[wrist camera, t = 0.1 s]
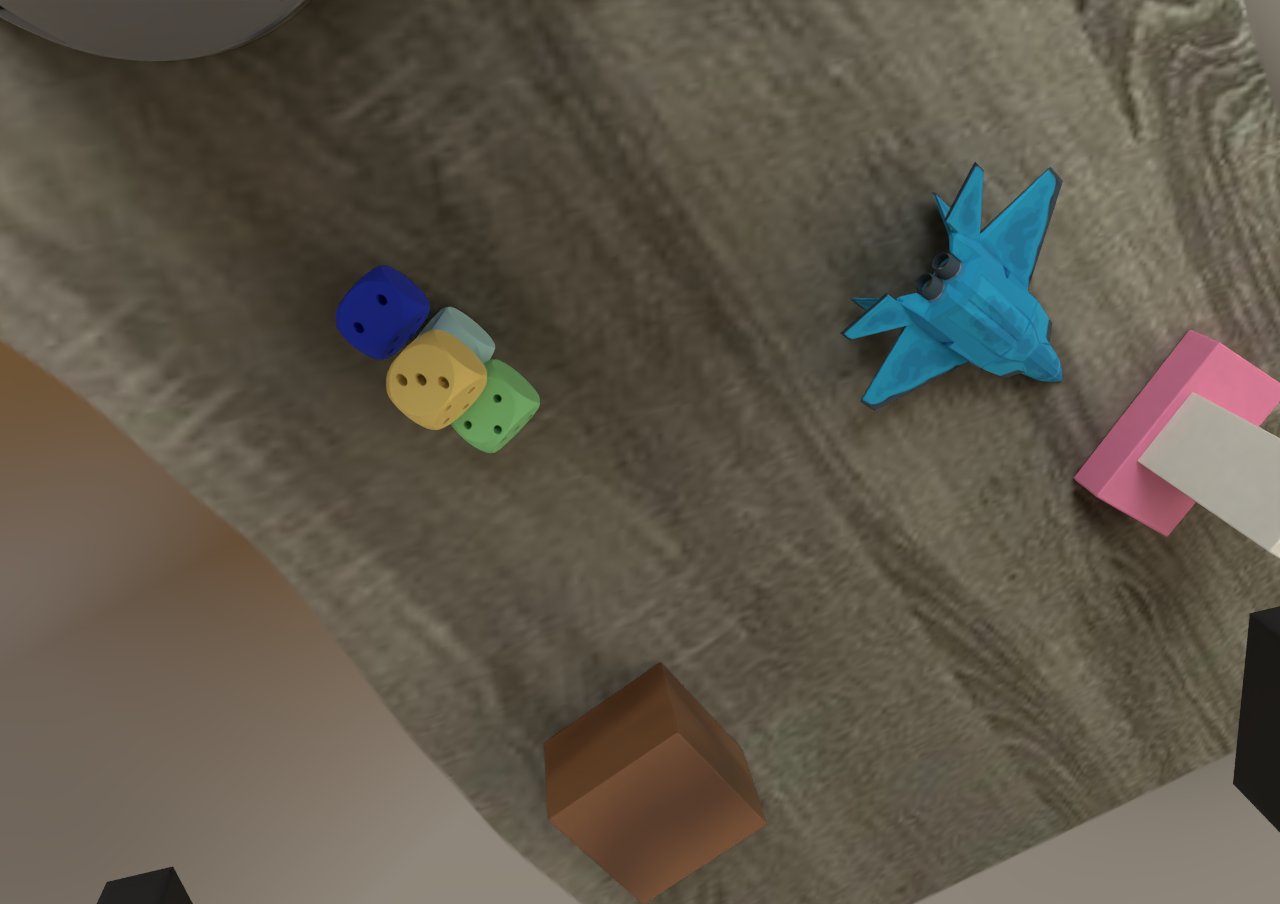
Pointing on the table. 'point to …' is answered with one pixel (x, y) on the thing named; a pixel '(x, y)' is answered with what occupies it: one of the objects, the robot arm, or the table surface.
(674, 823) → the wood block
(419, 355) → the dice
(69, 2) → the robot arm
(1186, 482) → the block on pink pedestal
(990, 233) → the toy airplane
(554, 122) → the table surface
